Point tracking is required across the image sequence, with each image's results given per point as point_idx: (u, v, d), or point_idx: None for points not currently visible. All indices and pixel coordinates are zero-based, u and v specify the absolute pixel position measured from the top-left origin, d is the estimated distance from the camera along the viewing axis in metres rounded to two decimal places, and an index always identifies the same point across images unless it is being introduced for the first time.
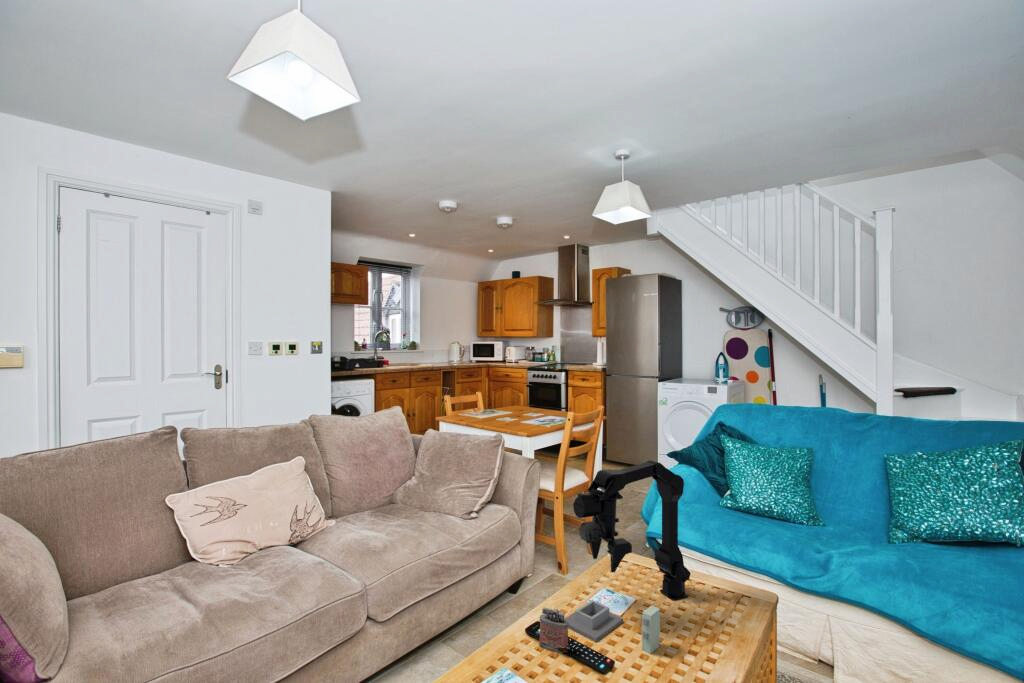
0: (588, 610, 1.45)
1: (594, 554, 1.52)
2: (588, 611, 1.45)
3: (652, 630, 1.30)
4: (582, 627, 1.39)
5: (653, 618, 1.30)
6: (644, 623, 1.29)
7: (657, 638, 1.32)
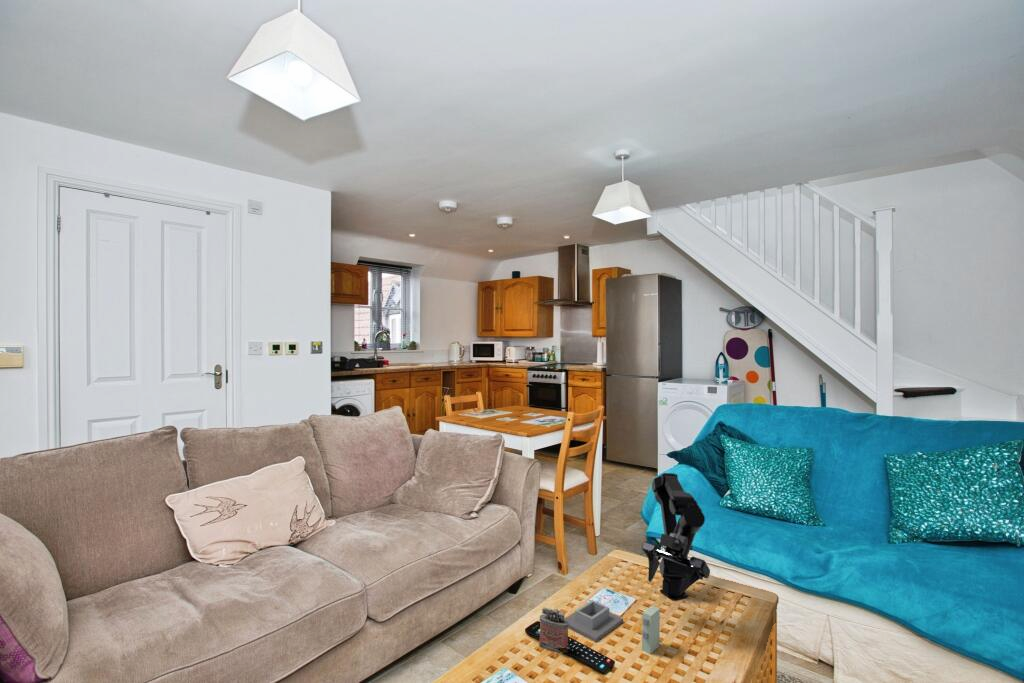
0: (588, 610, 1.45)
1: (651, 575, 1.41)
2: (588, 611, 1.45)
3: (652, 630, 1.30)
4: (582, 627, 1.39)
5: (653, 618, 1.30)
6: (644, 623, 1.29)
7: (657, 638, 1.32)
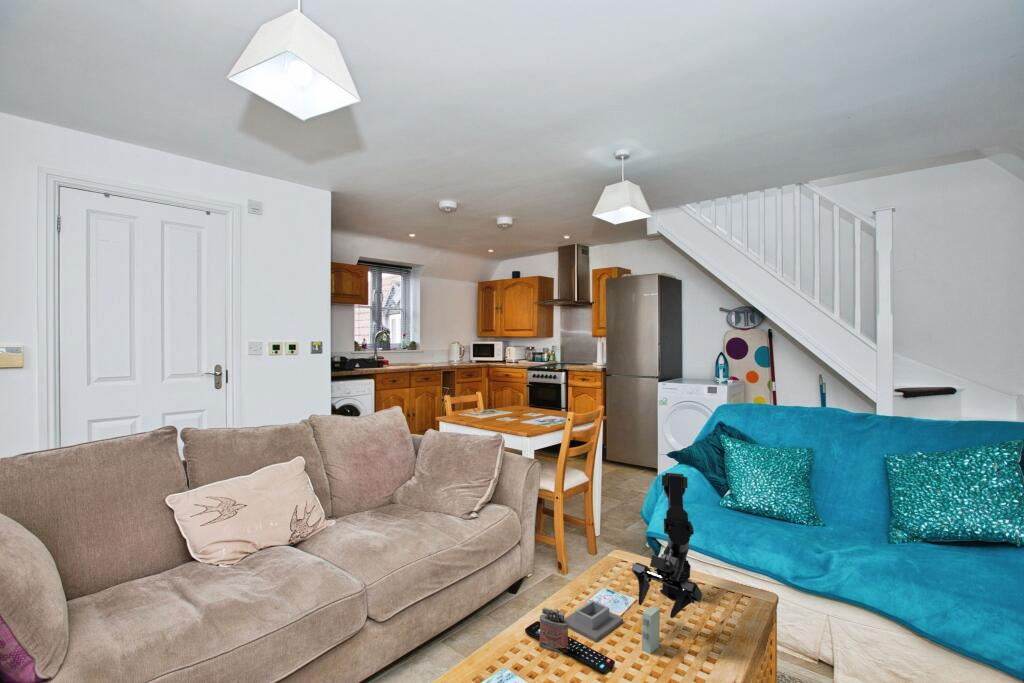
0: (588, 610, 1.45)
1: (641, 599, 1.36)
2: (588, 611, 1.45)
3: (652, 630, 1.30)
4: (582, 627, 1.39)
5: (653, 618, 1.30)
6: (644, 623, 1.29)
7: (657, 638, 1.32)
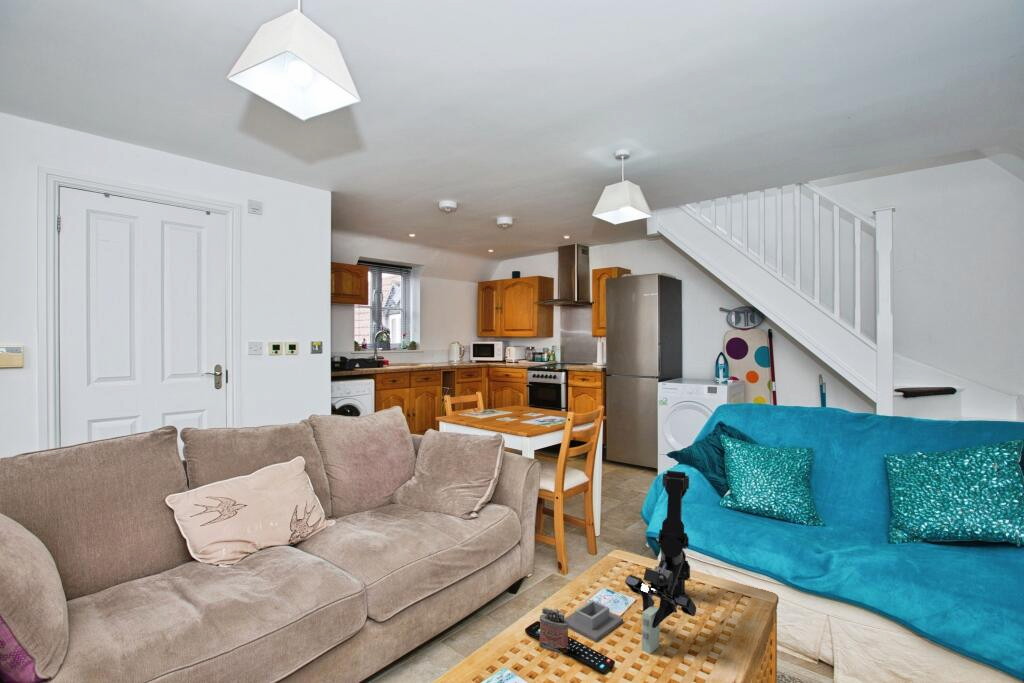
0: (588, 610, 1.45)
1: None
2: (588, 611, 1.45)
3: (652, 630, 1.30)
4: (582, 627, 1.39)
5: (653, 618, 1.30)
6: (644, 623, 1.29)
7: (657, 638, 1.32)
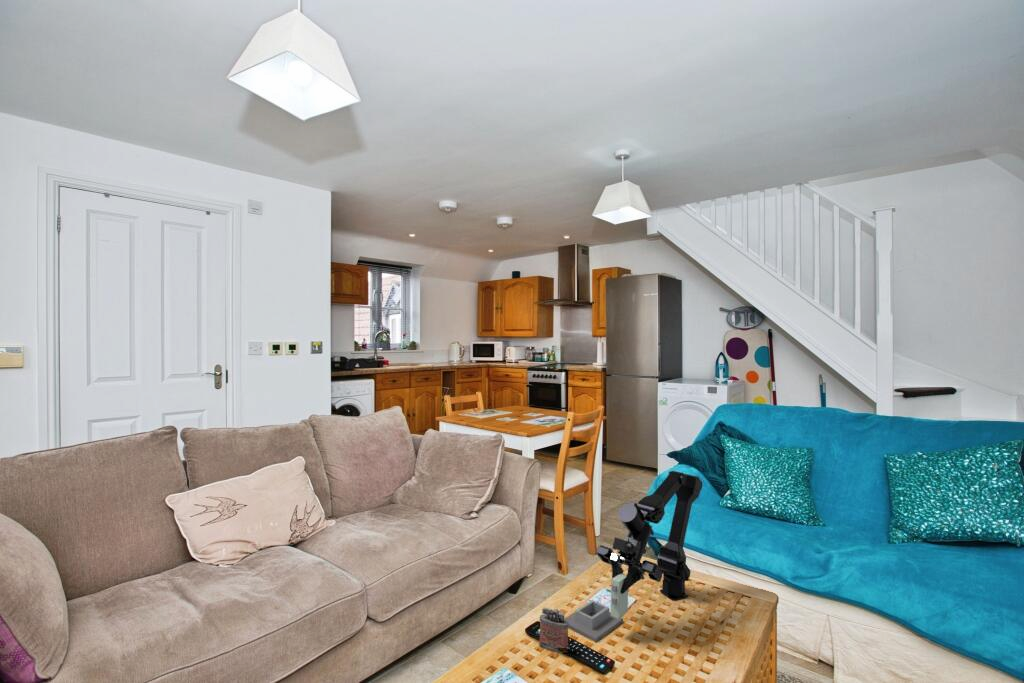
0: (588, 610, 1.45)
1: None
2: (588, 611, 1.45)
3: (620, 596, 1.36)
4: (582, 627, 1.39)
5: (621, 585, 1.36)
6: (613, 589, 1.35)
7: (625, 604, 1.38)
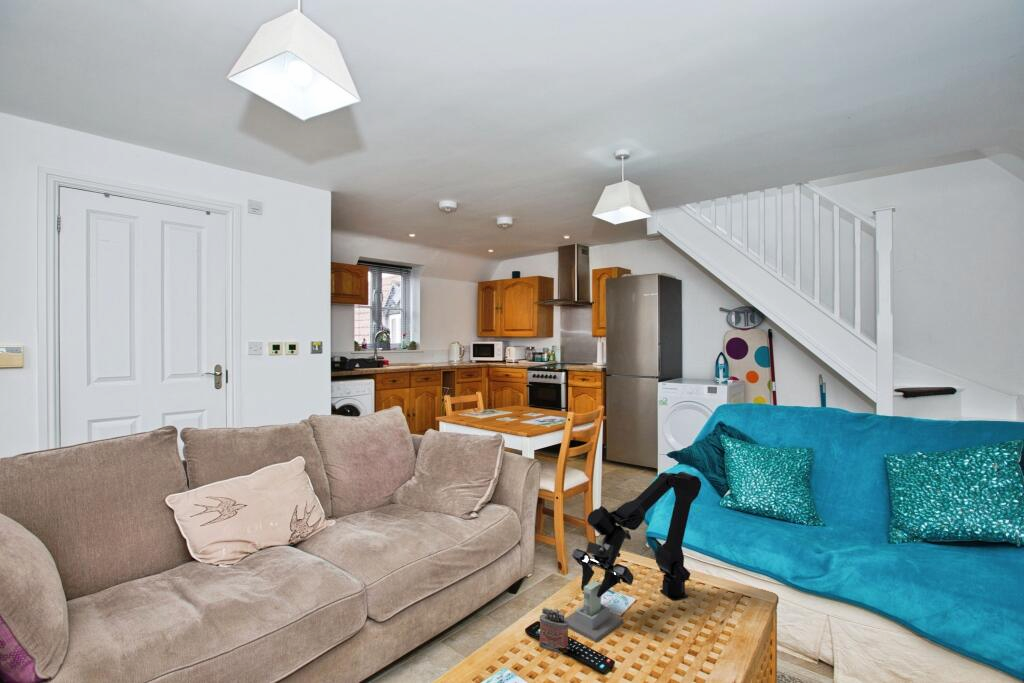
0: None
1: (584, 584, 1.44)
2: None
3: (593, 603, 1.41)
4: (582, 627, 1.39)
5: (593, 592, 1.41)
6: (585, 596, 1.41)
7: (598, 610, 1.43)
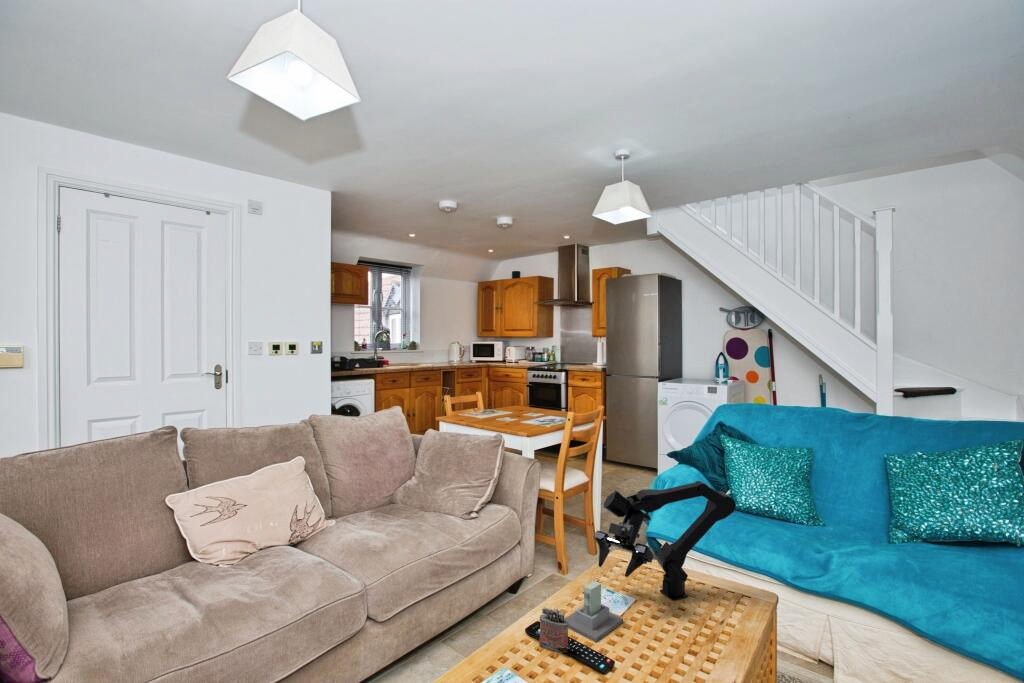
0: None
1: (601, 561, 1.54)
2: None
3: (593, 603, 1.41)
4: (582, 627, 1.39)
5: (593, 592, 1.41)
6: (585, 596, 1.41)
7: (598, 610, 1.43)
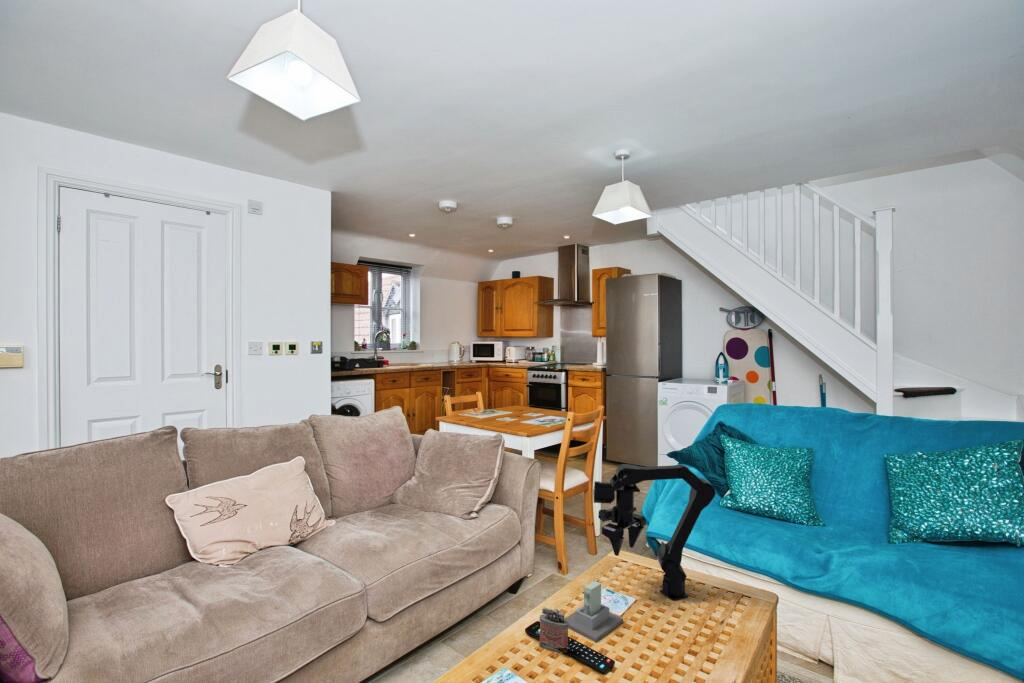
0: None
1: (630, 542, 1.65)
2: None
3: (593, 603, 1.41)
4: (582, 627, 1.39)
5: (593, 592, 1.41)
6: (585, 596, 1.41)
7: (598, 610, 1.43)
